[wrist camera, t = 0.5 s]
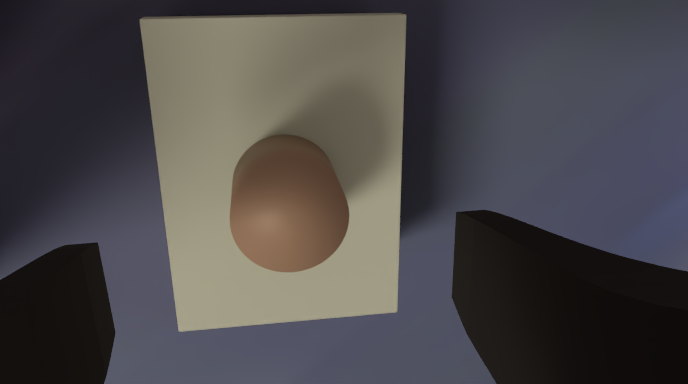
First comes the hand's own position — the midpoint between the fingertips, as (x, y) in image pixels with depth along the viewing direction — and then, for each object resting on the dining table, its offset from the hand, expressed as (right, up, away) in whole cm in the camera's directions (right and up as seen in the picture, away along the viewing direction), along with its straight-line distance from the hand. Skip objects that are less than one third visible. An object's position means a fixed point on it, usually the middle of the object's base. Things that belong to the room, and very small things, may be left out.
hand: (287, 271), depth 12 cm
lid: (-1, +2, +6) cm, 7 cm away
